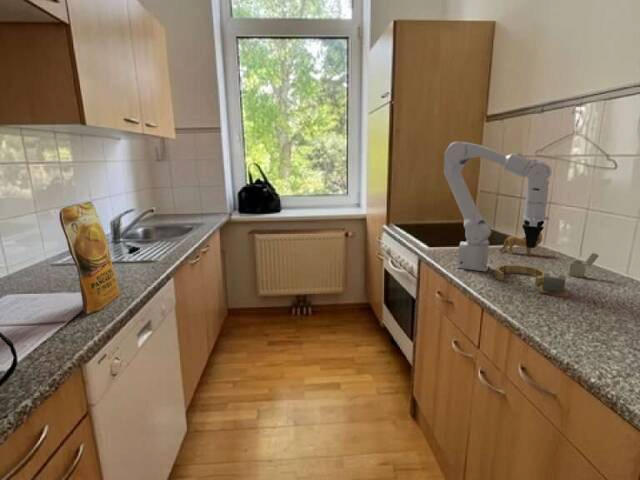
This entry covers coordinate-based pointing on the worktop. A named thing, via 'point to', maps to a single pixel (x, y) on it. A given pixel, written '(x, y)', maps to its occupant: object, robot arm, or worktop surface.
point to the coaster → (553, 292)
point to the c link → (554, 283)
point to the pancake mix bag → (90, 255)
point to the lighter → (581, 266)
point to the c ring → (520, 269)
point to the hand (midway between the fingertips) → (530, 245)
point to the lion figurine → (519, 243)
